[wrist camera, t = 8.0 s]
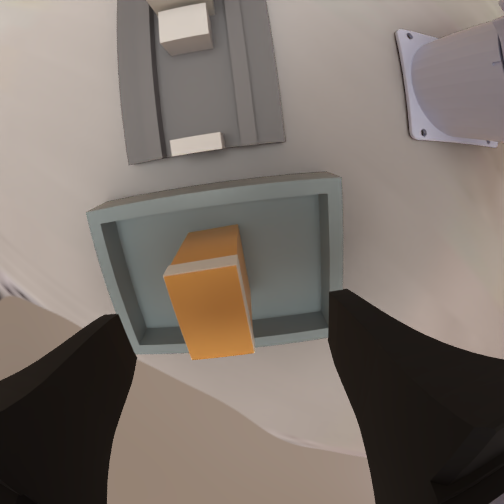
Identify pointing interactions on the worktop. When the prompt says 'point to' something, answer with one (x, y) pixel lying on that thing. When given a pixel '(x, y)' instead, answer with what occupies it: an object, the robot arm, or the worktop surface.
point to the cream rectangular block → (179, 5)
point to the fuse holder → (196, 78)
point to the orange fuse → (212, 294)
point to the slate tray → (254, 249)
